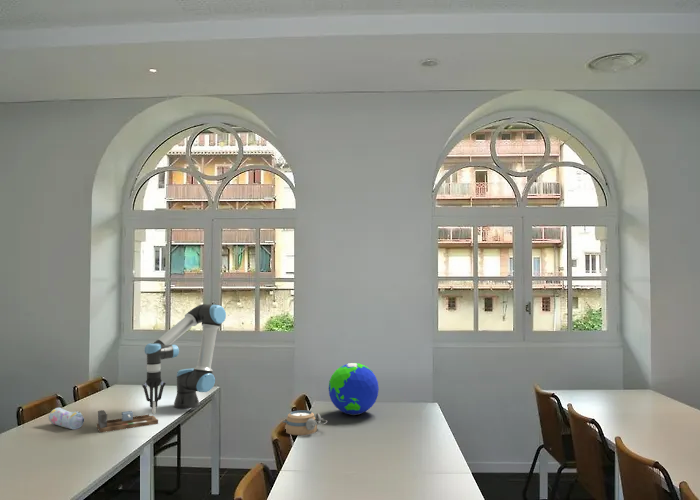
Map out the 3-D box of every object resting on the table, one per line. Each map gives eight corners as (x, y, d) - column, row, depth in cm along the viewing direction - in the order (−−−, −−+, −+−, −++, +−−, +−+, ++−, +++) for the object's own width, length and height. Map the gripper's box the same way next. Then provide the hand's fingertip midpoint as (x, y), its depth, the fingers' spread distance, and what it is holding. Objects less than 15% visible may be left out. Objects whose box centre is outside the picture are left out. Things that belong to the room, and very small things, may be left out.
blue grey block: (131, 419, 315) (131, 410, 315) (134, 423, 307) (134, 414, 308) (121, 421, 313) (121, 412, 313) (124, 425, 305) (124, 415, 305)
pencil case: (85, 427, 309) (85, 410, 310) (70, 431, 302) (70, 413, 302) (62, 422, 320) (62, 405, 320) (47, 426, 312) (47, 409, 313)
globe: (386, 410, 339) (386, 360, 340) (367, 423, 312) (366, 369, 313) (342, 405, 352) (341, 357, 353) (319, 417, 325) (319, 365, 325)
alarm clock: (292, 408, 311) (331, 411, 304) (292, 424, 311) (331, 428, 304) (279, 416, 295) (320, 419, 288) (279, 433, 295) (320, 437, 288)
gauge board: (153, 418, 325) (153, 403, 325) (158, 423, 315) (158, 407, 315) (96, 427, 309) (96, 410, 309) (100, 432, 299) (100, 415, 299)
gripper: (163, 369, 327) (163, 409, 326) (140, 371, 320) (140, 413, 319) (167, 371, 321) (167, 412, 320) (143, 373, 314) (143, 416, 313)
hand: (153, 412), depth 320 cm, fingers closed
